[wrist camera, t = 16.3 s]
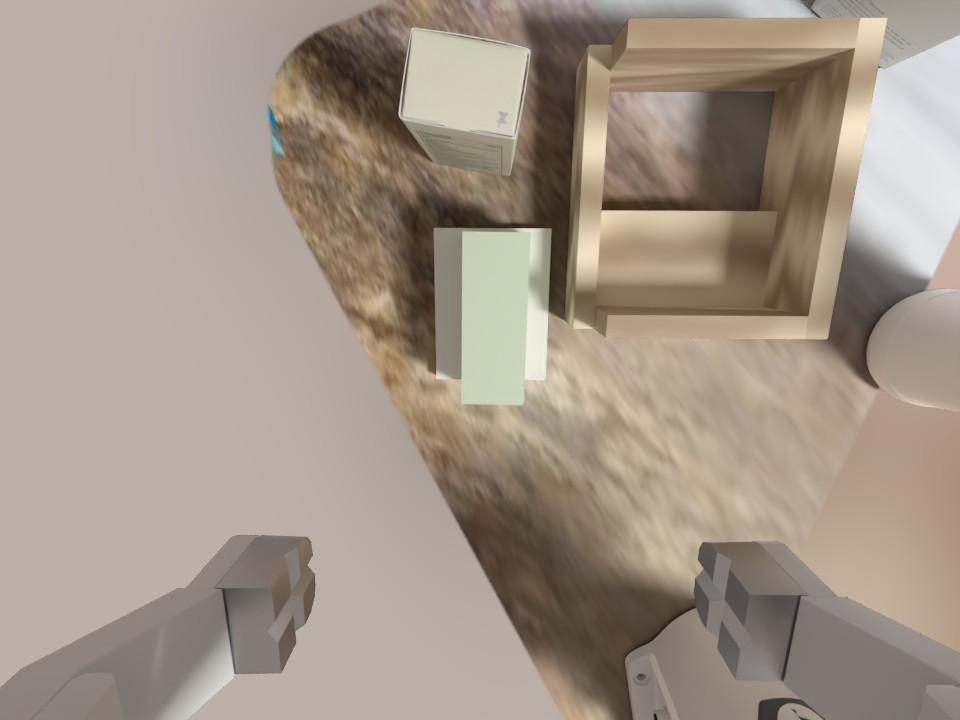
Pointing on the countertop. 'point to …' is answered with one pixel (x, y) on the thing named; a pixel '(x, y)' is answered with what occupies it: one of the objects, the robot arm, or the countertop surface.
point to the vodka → (919, 350)
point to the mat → (451, 300)
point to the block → (494, 316)
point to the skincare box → (464, 98)
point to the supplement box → (901, 23)
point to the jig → (725, 234)
